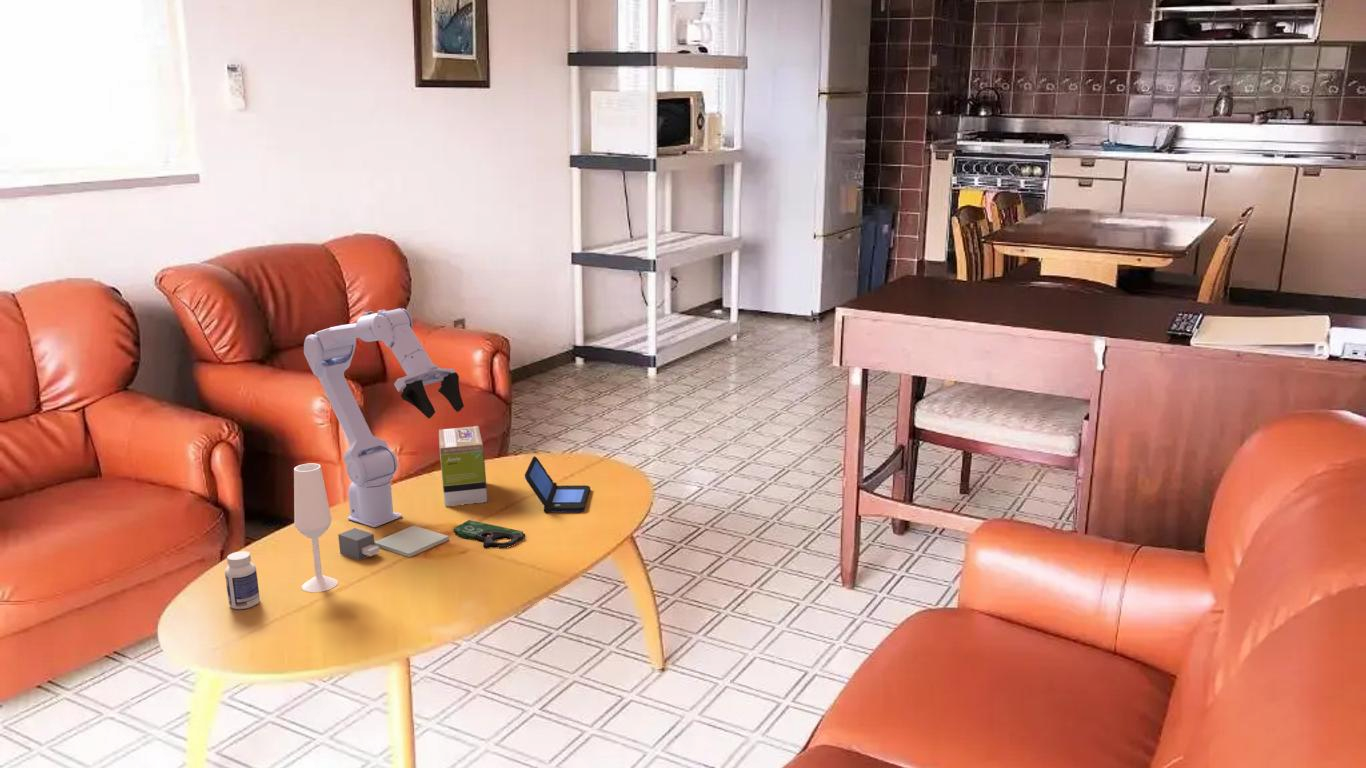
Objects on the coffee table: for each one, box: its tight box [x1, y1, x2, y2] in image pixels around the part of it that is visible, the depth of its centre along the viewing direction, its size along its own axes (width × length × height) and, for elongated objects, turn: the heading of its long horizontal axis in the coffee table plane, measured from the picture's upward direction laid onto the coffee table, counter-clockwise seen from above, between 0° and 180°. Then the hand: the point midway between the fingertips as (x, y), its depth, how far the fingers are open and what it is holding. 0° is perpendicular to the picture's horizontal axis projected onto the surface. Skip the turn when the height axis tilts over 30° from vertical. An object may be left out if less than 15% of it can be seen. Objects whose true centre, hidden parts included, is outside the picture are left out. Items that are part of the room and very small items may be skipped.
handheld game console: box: [524, 456, 591, 514], centre depth 252 cm, size 16×13×9 cm
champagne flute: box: [293, 462, 339, 593], centre depth 207 cm, size 7×7×24 cm
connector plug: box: [337, 527, 380, 561], centre depth 224 cm, size 8×4×4 cm, turn 55°
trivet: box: [374, 525, 450, 558], centre depth 230 cm, size 11×11×1 cm
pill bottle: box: [224, 550, 261, 610], centre depth 201 cm, size 5×5×10 cm
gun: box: [453, 519, 526, 549], centre depth 232 cm, size 16×2×10 cm
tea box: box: [438, 425, 488, 507], centre depth 256 cm, size 15×10×15 cm, turn 14°
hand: (446, 412), depth 219 cm, fingers open, 7 cm apart
